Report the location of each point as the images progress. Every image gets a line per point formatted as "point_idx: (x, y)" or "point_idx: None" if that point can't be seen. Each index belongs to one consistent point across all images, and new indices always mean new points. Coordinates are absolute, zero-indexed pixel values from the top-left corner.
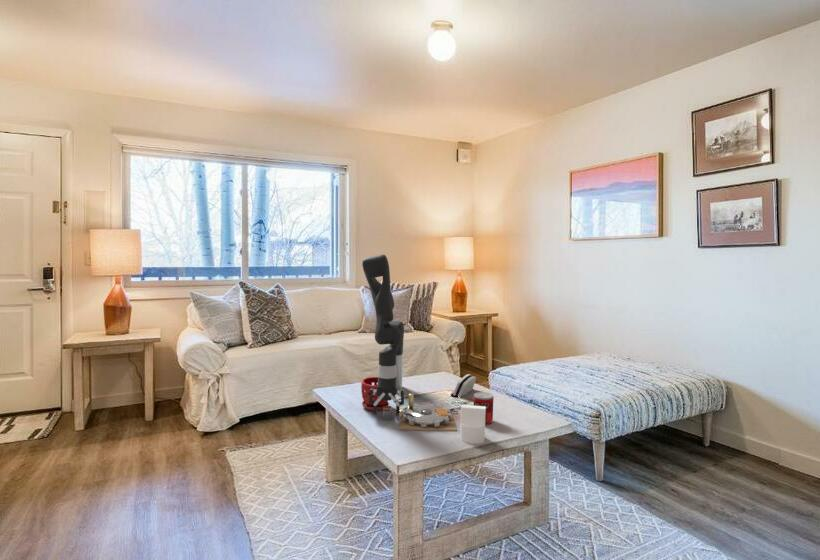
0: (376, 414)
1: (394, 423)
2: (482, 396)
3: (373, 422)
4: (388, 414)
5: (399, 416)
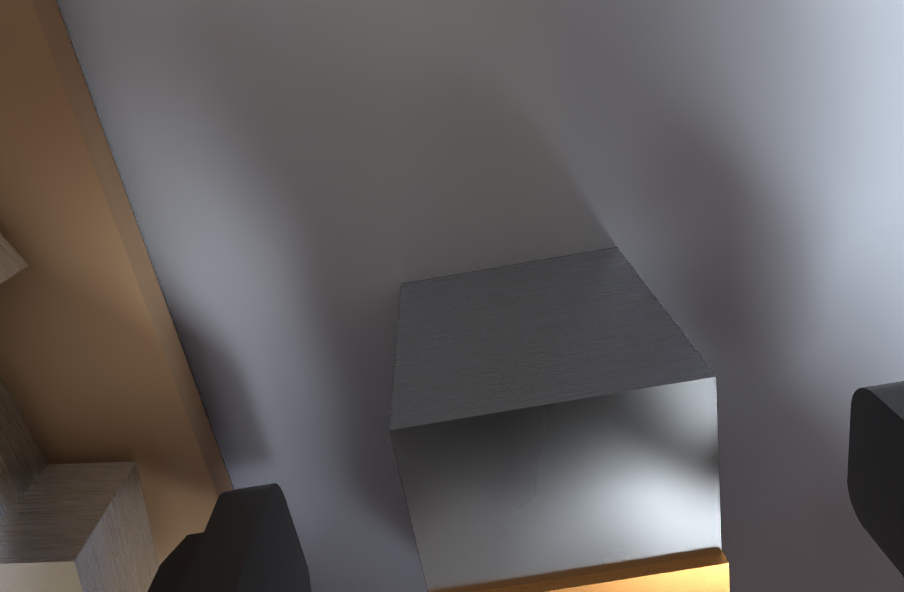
0: (864, 389)
1: (241, 95)
2: None
3: (877, 43)
4: (476, 348)
5: None
